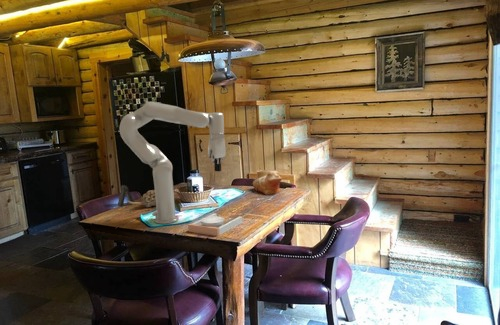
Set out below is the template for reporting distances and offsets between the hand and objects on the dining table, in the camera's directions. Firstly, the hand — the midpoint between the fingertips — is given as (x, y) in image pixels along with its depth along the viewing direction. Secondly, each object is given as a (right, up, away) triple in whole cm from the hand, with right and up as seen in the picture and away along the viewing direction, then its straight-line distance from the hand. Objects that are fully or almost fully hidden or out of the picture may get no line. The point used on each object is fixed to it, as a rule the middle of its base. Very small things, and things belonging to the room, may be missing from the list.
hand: (217, 170), depth 211 cm
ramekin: (-1, -28, -18) cm, 34 cm away
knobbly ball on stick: (-45, -23, +28) cm, 58 cm away
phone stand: (-60, -22, +38) cm, 75 cm away
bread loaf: (+29, -15, +57) cm, 66 cm away
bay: (0, -27, -14) cm, 31 cm away
